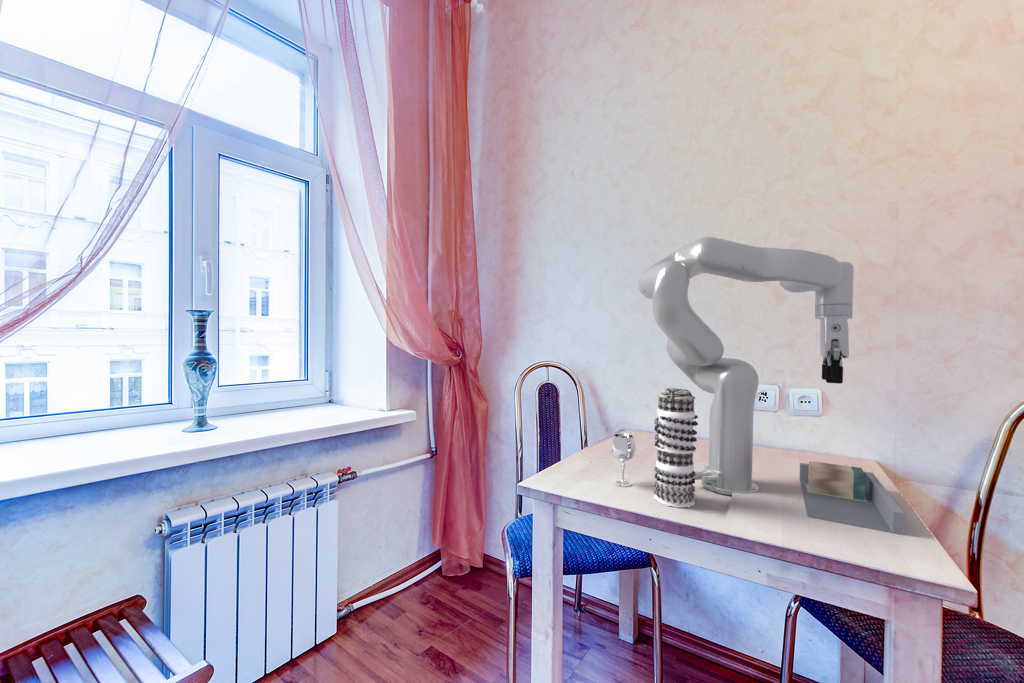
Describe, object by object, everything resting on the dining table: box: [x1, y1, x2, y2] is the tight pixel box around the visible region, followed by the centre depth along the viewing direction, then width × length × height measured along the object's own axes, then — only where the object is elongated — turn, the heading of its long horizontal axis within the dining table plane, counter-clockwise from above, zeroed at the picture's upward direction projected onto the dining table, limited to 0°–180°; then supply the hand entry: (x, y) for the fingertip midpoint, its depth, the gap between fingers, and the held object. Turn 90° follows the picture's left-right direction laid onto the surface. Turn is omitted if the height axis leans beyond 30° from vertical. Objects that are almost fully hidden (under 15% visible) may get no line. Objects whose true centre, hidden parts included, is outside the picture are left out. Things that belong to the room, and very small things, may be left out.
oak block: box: [808, 460, 865, 500], centre depth 100 cm, size 10×5×6 cm, turn 59°
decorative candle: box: [653, 387, 699, 508], centre depth 97 cm, size 9×9×25 cm
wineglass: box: [611, 433, 636, 485], centre depth 107 cm, size 6×6×12 cm
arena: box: [799, 462, 905, 536], centre depth 95 cm, size 28×14×5 cm, turn 149°
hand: (831, 381), depth 107 cm, fingers open, 9 cm apart
